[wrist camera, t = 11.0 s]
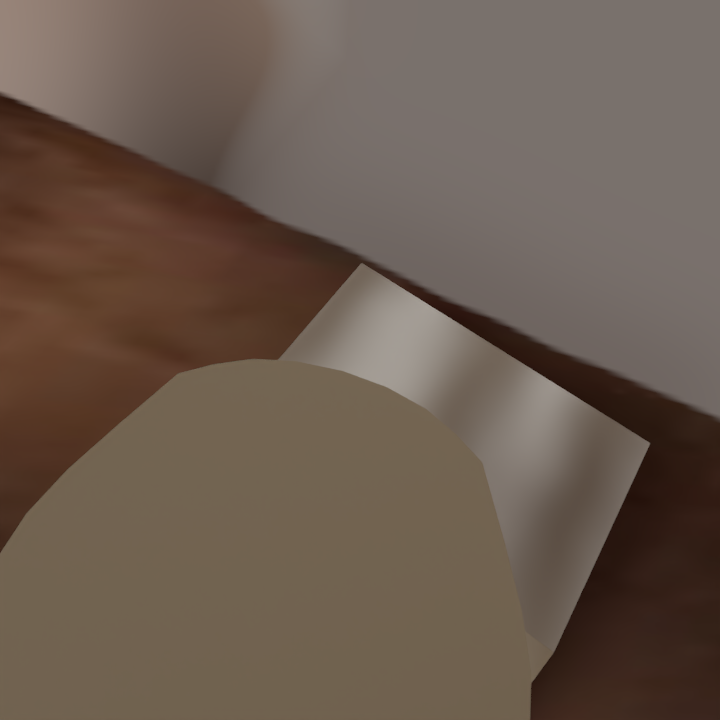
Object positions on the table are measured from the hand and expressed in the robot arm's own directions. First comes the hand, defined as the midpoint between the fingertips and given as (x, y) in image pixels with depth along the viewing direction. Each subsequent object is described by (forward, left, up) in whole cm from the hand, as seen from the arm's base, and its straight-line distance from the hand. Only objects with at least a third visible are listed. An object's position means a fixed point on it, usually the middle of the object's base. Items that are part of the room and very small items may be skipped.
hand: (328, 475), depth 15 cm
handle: (+2, -4, -5) cm, 7 cm away
